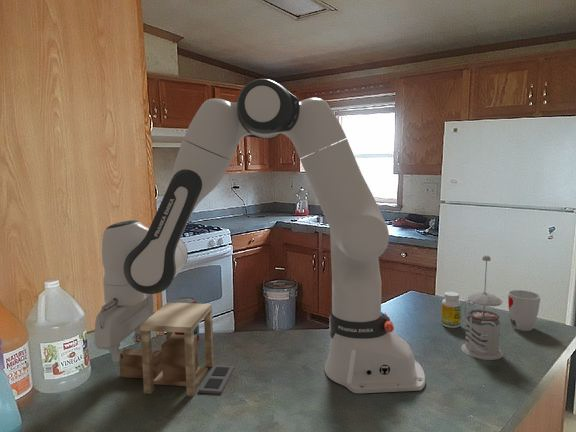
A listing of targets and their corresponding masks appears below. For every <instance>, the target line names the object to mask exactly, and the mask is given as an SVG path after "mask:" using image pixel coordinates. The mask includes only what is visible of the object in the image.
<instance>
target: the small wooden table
mask: <svg viewBox="0 0 576 432" xmlns="http://www.w3.org/2000/svg"><path fill="white" fill-rule="evenodd" d="M212 306H213V304H212V303H175V302H167V303H165V304H163V306H162V307H161V308H159V309H158V310H156V311H154V312H153V315H152V316H151V317H149V318H148V319H147V320H146V321H145V322H143V323H142V324H141V325H140V332H141V342H140V343H141V344H140V345H141V347H140V348H141V350H142V366H143V378H142V381H143V382H142V383H143V393H144V394H150V395H151V394H152V393H153V391H154V390H155V384H154V382H153V381H154V379H153V364H152V350H153V349H152V335H151V334H152V332H163V333H164V332H165V333H166V340H167V339H168V338H169V337H170V336H171V335H172V334H173V335H175V332H183V333H184V341H185V363H186V385H187V386H186V396H187V397H195V395H196V393H197V387H196V374H195V350H194V329H195V328H196V327H197V326H198V324H199V325H200V323H201V322H202V321H203V322H204V324H203V325H204V326H203V327H204V328H203V329H204V351H205V352H204V353H205V367H207V368H212V367H213V366H214V365H215V357H214V332H213V331H214V329H213V307H212Z"/></svg>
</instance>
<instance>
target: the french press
mask: <svg viewBox="0 0 576 432" xmlns="http://www.w3.org/2000/svg"><path fill="white" fill-rule="evenodd" d="M491 259H492V258H491V256H489V255H484V256H483V257H482V259H481V260H482V261H485V275H484V276H485V277H484V289H483V290H484V292H483V291H480V292H479V291H478V292H473V293H470V294H469V295H467V297H466V298H467V299H466V300H464V301H463V302H461V307H460V316H461V320H460V321H461V322H462V323H463V324H464V326H465V343H463V344H462V345H461V347H460V349H461V350H462V352H463V353H464V354H466V355H467V356H469V357H472V358H474V359H475V358H476V359H479V360H487V361H493V360H499V359H501V358H502V357H503V355H504V353H503V352H502V351H501V349H500V347H499V346H500V331H501V321H500V320H499V319H500V316H499V315H498V314H497V313H496V312H492V311H489V310H485V307H499V306H501V305H502V304H503V300H502V299H501V298H500V297H498V296H497V295H495V294H492V293H490V292H486V287H487V286H486V285H487V269H488V267H487V266H488V262H491ZM465 302H466V303H465ZM464 303H465V304H464ZM471 303H472V304H471ZM463 305H464V316H465V319H466V323H465V322H464V320H463V318H462V307H463ZM467 305H469V307H470V306H474V305H479V306H483V309H471V310H469V311H468V313H467V312H466V311H467ZM467 314H468V316H467ZM491 322H493V323H491ZM485 335H487V336H485Z"/></svg>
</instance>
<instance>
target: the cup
mask: <svg viewBox="0 0 576 432" xmlns="http://www.w3.org/2000/svg"><path fill="white" fill-rule="evenodd" d="M507 293H508V296H507V298H508V299H507V301H508V302H507V305H508V316H509V320H510V323H511V327H512V328H513V329H515V330H517V331H522V332H523V331H524V332H529V331H532V330H533V327H534V326H535V323H536V322H537V317H538V314H539V309H540V304H541V295H540V294H539V293H536V292H534V291H533V292H532V291H529V290H522V289H513V290H509V291H507Z"/></svg>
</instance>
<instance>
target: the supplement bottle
mask: <svg viewBox="0 0 576 432" xmlns="http://www.w3.org/2000/svg"><path fill="white" fill-rule="evenodd" d="M443 296H444V299H442V301H441V314H440V315H441V317H440V318H441V320H440V323H441V325H442V326H443V327H446V328H451V329H455V328H456V329H457V328H459V327H460V326H461V321H462V320H461V317H462V315H461V316H460V307H461V305H462V302H461V301H460V293H458V292H455V291H446V292H444V295H443ZM461 308H462V307H461Z"/></svg>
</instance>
